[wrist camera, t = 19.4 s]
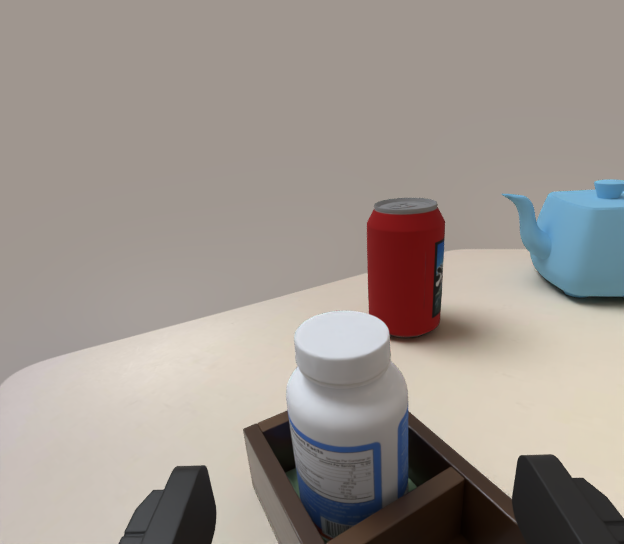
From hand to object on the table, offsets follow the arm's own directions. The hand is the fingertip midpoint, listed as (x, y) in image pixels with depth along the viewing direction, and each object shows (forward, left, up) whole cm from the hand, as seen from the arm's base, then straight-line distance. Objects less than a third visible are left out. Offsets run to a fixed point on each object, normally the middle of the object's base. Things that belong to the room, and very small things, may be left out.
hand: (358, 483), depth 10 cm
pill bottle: (+3, +6, -9) cm, 11 cm away
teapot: (+40, +15, -10) cm, 44 cm away
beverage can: (+18, +19, -10) cm, 28 cm away
